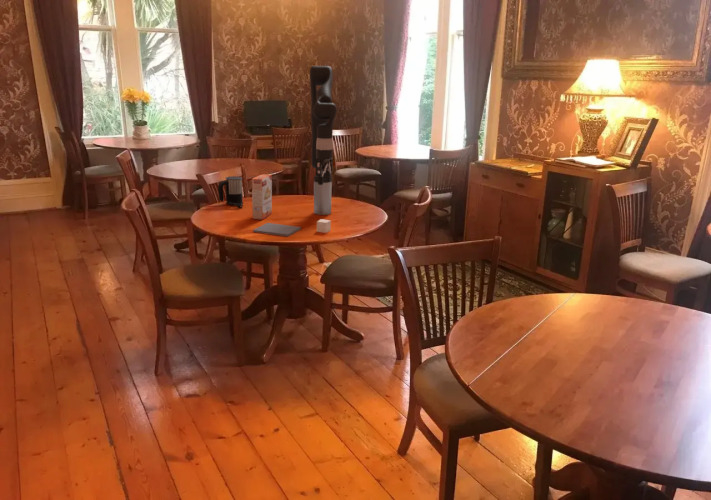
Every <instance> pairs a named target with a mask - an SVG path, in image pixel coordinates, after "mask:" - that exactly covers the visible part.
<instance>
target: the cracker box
mask: <svg viewBox="0 0 711 500" xmlns="http://www.w3.org/2000/svg"><path fill="white" fill-rule="evenodd" d="M272 180H273V179H272V174H264V173H263V174H260V175H258V176H255V177H253V178H251V198H252V200H251V202H252V203H251V204H252V206H251V207H252V208H251V210H252V219H253V220H261V221H262V220H264V219H266V218H267V217H269V216H271V215H272V214H273V212H272V210H273V204H272V203H273V200H272V199H273V198H272V197H273V196H272V195H273V192H272V190H273V187H272V186H273V185H272V184H273V182H272Z"/></svg>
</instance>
